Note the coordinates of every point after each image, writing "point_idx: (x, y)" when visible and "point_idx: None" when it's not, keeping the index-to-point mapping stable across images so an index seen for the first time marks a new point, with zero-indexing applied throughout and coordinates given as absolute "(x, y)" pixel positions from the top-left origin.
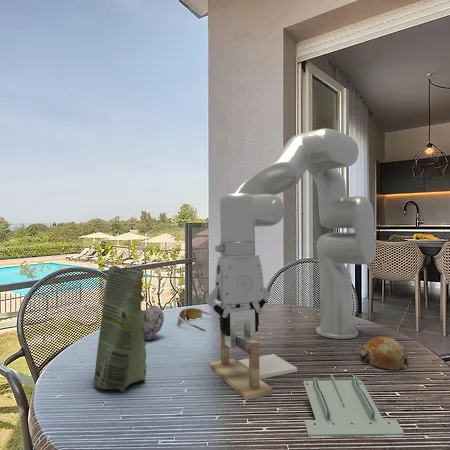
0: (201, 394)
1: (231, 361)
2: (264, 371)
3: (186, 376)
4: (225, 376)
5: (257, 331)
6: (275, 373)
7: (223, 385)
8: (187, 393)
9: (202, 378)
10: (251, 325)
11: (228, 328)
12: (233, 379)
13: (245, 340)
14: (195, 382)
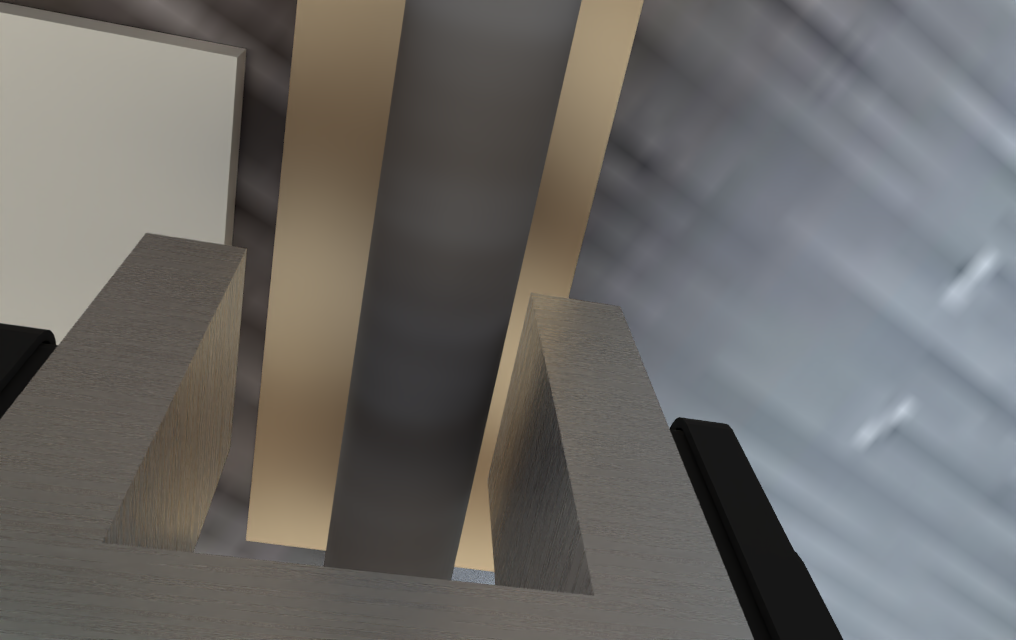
0: (935, 123)
1: (298, 495)
2: (111, 111)
3: (784, 492)
4: (579, 241)
5: (3, 332)
6: (3, 9)
7: (649, 159)
8: (1007, 215)
9: (704, 390)
10: (121, 427)
11: (759, 508)
12: (562, 129)
13: (229, 422)
14: (806, 357)
